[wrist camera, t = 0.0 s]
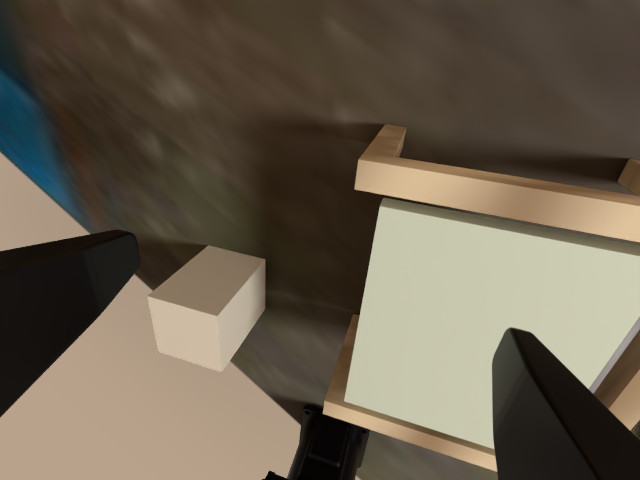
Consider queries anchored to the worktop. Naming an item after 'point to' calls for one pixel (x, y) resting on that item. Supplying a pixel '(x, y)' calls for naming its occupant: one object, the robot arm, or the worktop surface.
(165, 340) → the stone block
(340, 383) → the frame
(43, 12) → the worktop surface
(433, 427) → the trapdoor
